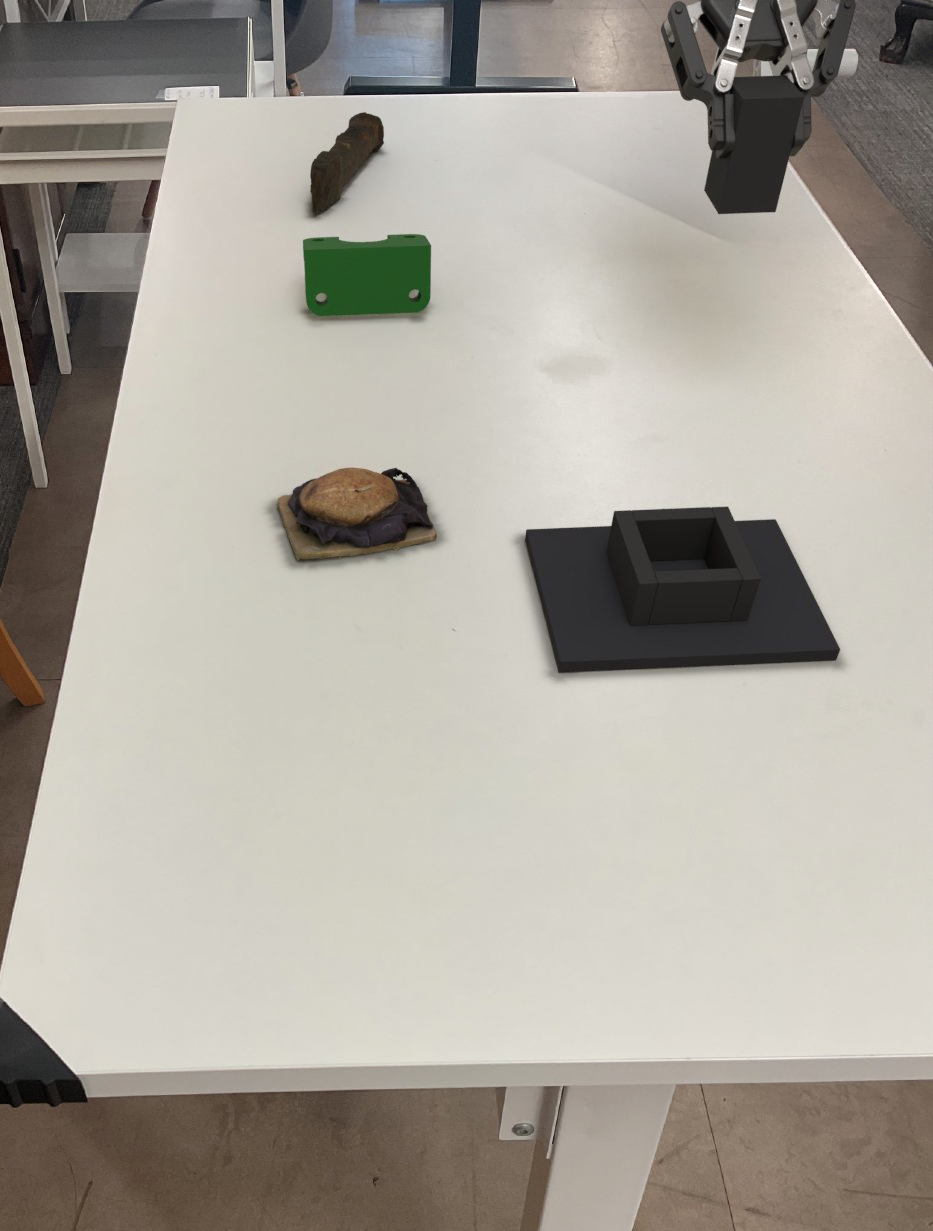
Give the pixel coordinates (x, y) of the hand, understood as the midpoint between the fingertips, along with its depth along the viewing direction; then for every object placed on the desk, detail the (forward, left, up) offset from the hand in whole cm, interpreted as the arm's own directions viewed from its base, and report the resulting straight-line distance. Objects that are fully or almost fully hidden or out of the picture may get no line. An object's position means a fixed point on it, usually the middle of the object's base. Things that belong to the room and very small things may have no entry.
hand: (760, 151), depth 87 cm
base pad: (+10, +29, -18) cm, 35 cm away
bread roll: (+31, +19, -18) cm, 40 cm away
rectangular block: (0, -2, -4) cm, 5 cm away
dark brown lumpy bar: (+28, -43, -18) cm, 54 cm away
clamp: (+28, -15, -18) cm, 37 cm away
